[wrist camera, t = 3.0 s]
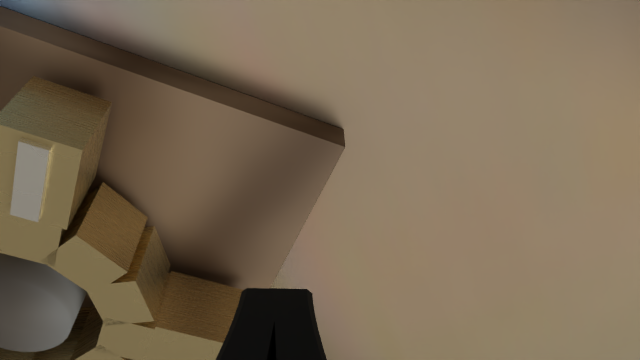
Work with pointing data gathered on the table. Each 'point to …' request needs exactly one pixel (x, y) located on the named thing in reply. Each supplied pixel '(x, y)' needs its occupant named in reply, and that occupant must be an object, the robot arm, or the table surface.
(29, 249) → the tan bumpy ring
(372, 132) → the table surface
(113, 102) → the board
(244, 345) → the robot arm
